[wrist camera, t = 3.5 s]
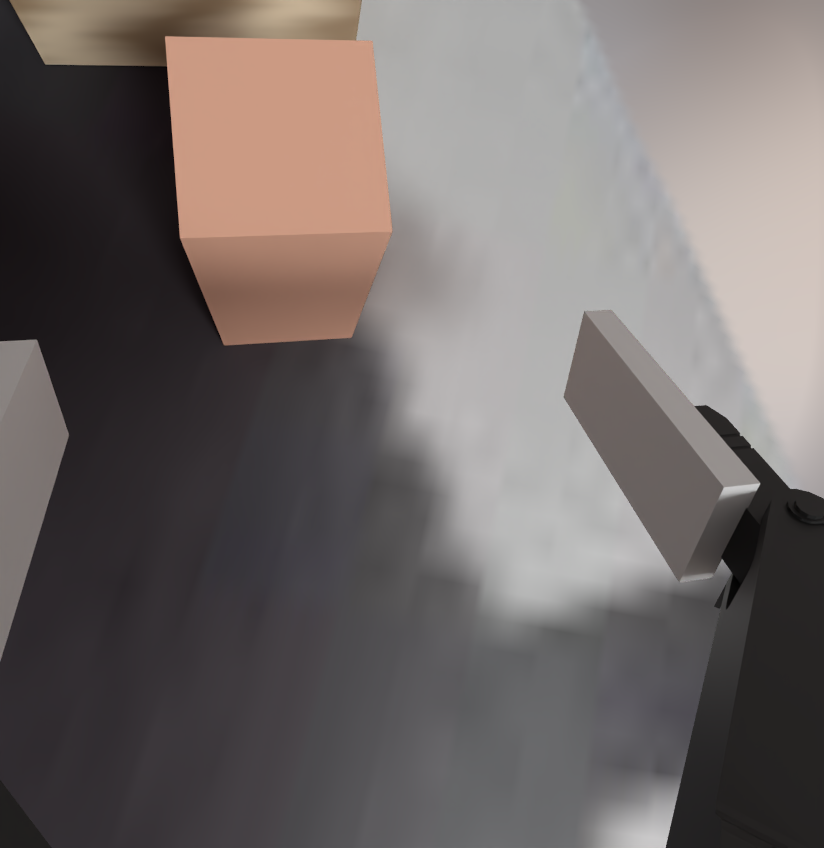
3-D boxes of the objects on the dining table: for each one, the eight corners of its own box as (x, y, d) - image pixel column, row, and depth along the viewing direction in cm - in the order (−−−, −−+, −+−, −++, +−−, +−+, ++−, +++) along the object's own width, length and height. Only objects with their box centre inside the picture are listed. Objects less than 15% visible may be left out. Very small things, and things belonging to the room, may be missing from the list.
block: (224, 345, 26) (180, 238, 16) (214, 222, 27) (165, 36, 16) (351, 337, 27) (392, 231, 17) (339, 218, 28) (372, 40, 17)
